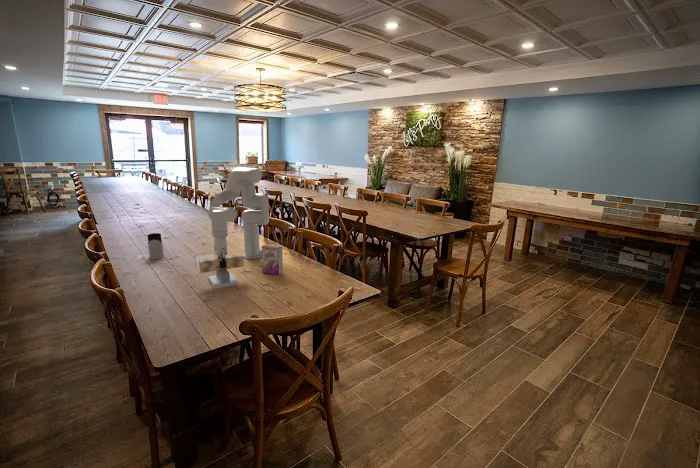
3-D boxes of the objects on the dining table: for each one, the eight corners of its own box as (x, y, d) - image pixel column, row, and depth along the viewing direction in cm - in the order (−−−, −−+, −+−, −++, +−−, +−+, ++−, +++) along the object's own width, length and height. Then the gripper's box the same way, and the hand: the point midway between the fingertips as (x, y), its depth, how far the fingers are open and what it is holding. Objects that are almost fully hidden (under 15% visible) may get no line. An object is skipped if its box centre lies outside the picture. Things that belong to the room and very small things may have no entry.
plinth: (231, 276, 194) (230, 264, 192) (238, 284, 182) (237, 272, 181) (208, 279, 188) (207, 267, 186) (214, 288, 176) (213, 275, 174)
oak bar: (201, 273, 176) (200, 261, 174) (199, 270, 179) (198, 259, 178) (244, 266, 187) (243, 255, 186) (242, 264, 191) (241, 254, 189)
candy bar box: (262, 273, 200) (260, 246, 196) (266, 270, 204) (265, 243, 201) (278, 275, 196) (278, 248, 192) (283, 273, 201) (282, 246, 197)
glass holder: (148, 259, 218) (145, 236, 214) (150, 253, 230) (148, 231, 227) (163, 258, 221) (161, 235, 218) (165, 252, 234) (163, 230, 230)
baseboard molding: (196, 273, 198) (218, 271, 203) (196, 269, 197) (218, 266, 202) (192, 258, 224) (212, 256, 230) (192, 254, 224) (212, 252, 229)
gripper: (209, 230, 183) (211, 263, 188) (215, 237, 170) (218, 272, 174) (223, 229, 187) (225, 261, 192) (231, 236, 174) (233, 270, 178)
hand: (222, 266), depth 183 cm, fingers closed on oak bar, 4 cm apart
